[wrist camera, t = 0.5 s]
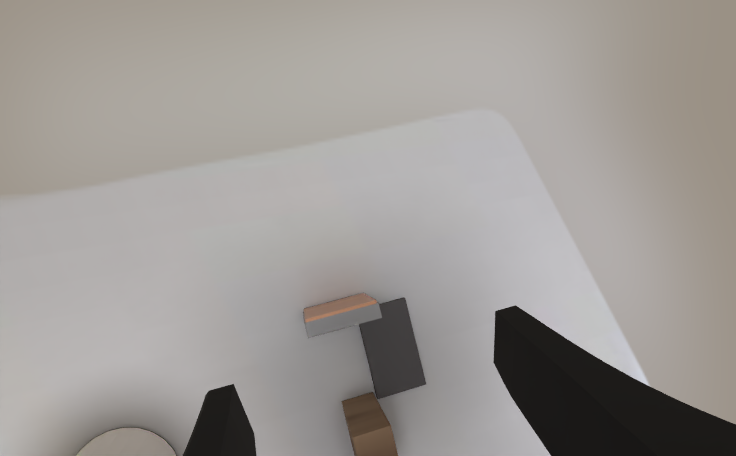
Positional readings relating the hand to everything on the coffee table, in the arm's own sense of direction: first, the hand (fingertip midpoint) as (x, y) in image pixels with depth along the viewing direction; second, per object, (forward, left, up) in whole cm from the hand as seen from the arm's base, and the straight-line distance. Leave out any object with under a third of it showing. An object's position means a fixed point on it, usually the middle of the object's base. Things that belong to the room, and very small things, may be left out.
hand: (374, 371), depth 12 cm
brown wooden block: (-11, -1, -23) cm, 26 cm away
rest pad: (-5, -4, -23) cm, 24 cm away
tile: (-1, -1, -23) cm, 23 cm away
